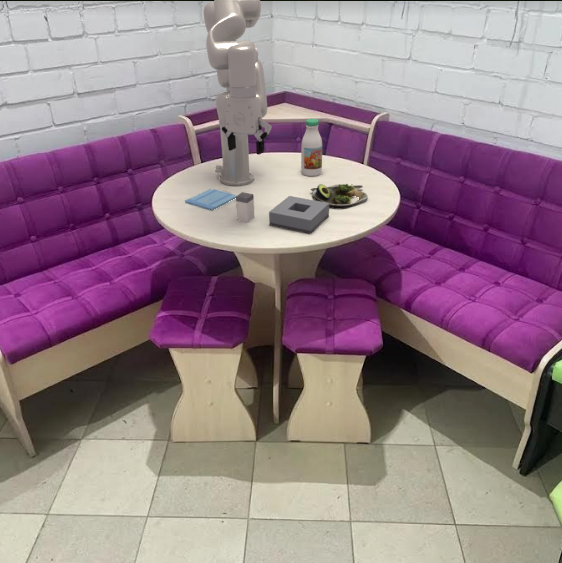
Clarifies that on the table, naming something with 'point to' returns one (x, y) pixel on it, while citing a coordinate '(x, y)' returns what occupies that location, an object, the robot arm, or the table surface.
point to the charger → (245, 206)
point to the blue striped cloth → (211, 199)
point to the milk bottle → (311, 149)
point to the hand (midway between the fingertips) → (246, 151)
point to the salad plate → (338, 195)
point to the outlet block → (299, 214)
